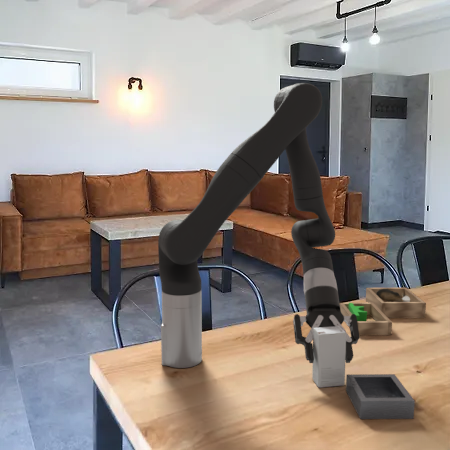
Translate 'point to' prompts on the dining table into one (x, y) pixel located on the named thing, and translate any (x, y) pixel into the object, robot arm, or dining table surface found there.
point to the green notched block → (358, 312)
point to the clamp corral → (370, 327)
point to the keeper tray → (379, 396)
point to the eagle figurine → (392, 296)
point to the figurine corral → (398, 304)
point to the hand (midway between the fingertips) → (330, 361)
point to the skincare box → (329, 356)
